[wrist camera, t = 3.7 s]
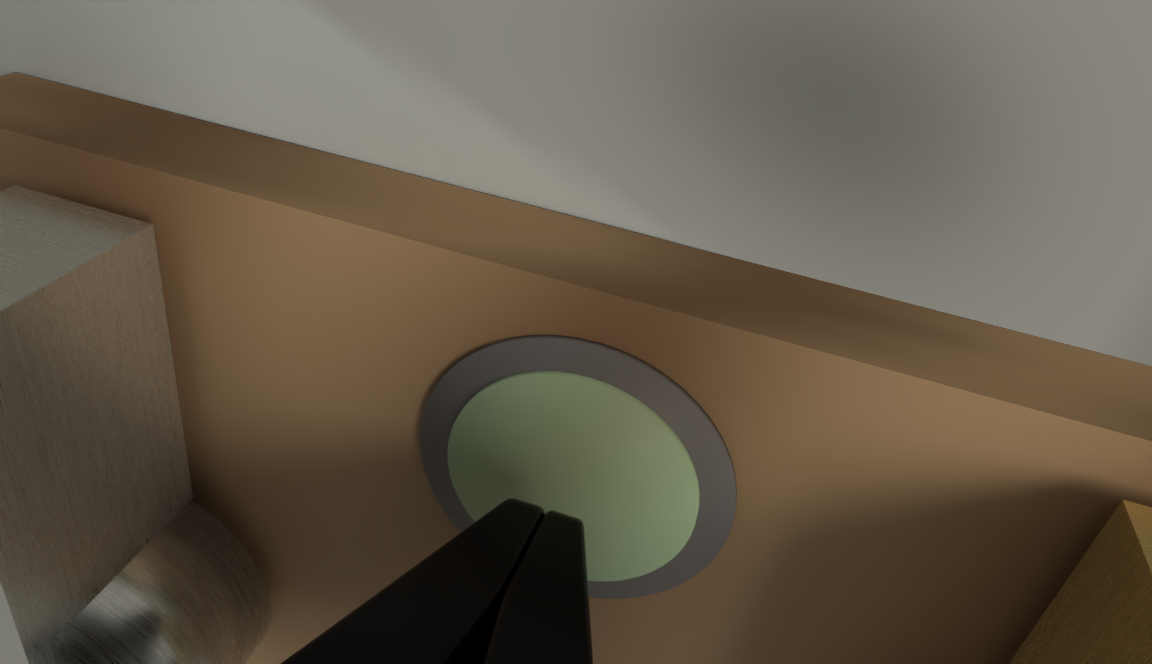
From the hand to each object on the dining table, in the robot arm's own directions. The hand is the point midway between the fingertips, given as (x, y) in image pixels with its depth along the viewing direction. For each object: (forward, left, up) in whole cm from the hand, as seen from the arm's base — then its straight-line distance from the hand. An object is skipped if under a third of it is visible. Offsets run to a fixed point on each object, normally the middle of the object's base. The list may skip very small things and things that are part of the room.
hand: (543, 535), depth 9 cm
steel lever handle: (+6, +2, -1) cm, 6 cm away
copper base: (0, +2, -2) cm, 3 cm away
